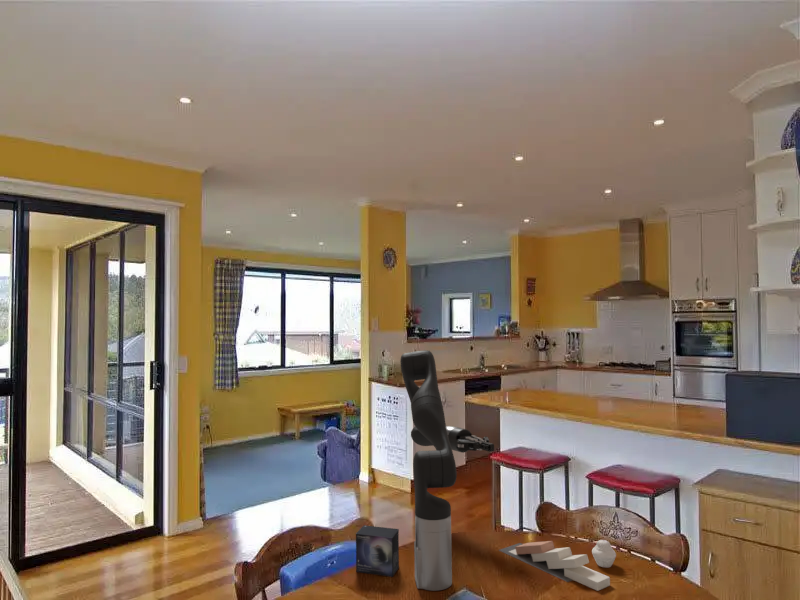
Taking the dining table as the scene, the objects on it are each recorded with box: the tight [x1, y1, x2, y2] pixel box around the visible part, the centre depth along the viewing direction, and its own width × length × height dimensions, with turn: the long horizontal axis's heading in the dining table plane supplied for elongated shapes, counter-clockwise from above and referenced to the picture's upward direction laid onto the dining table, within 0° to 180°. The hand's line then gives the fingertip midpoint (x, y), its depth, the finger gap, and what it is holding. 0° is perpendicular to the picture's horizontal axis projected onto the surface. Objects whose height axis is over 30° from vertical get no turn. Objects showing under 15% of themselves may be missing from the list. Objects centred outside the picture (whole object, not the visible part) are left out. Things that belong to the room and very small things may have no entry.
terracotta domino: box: [515, 540, 555, 554], centre depth 154 cm, size 2×5×10 cm
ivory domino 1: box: [531, 546, 573, 562], centre depth 150 cm, size 2×5×10 cm
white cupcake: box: [591, 539, 617, 568], centre depth 150 cm, size 6×6×7 cm
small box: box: [355, 524, 400, 578], centre depth 149 cm, size 11×6×10 cm, turn 73°
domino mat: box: [498, 542, 573, 583], centre depth 152 cm, size 24×9×1 cm, turn 35°
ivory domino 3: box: [564, 565, 611, 592], centre depth 140 cm, size 2×5×10 cm
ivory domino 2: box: [546, 553, 590, 569], centre depth 145 cm, size 2×5×10 cm
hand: (492, 447), depth 168 cm, fingers closed
